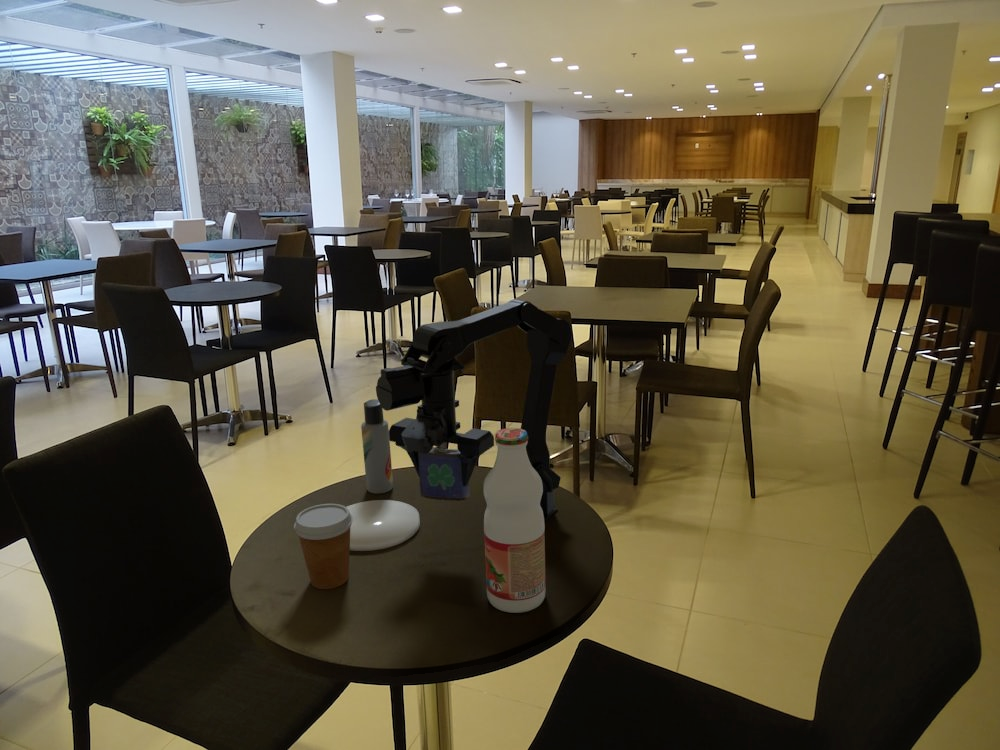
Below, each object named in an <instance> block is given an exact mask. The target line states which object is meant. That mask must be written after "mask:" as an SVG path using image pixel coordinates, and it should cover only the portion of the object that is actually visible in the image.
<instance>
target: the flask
mask: <svg viewBox="0 0 1000 750" xmlns="http://www.w3.org/2000/svg"><path fill="white" fill-rule="evenodd" d="M446 444H447V442H443V443H442V444H441V445H440V446H439V447H438V446H433V447H432V450H431V451H430V452H428V453H426V454H422V453H420V452H418V460H419V475H420V477H419V491H420V497H421V498H423V499H429V500H435V501H436V500H437V501H438V500H439V501H442V500H443V501H454V502H455V501H457V502H458V501H460V502H461V501H467V500H469V498H470V496H471V494H470V493H471V492H470V482H469V483H468V485H467V486H465V487H464V486H463V484H462V473H461V460H460V459H459V458H458V457H457V455H458V454H460V451H459V450H458V448H455V449H454V448H453V449H452V448H449V449H448V448H446Z"/></svg>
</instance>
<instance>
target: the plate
mask: <svg viewBox="0 0 1000 750" xmlns="http://www.w3.org/2000/svg"><path fill="white" fill-rule="evenodd" d="M346 507H347V508H348V510H349V512H350V514H351V515H352V517H353V521H352V524H351V527H350V551H354V552H355V551H356V552H368V551H377V550H378V551H379V550H383V549H387V548H388V549H389V548H391V547H394V546H397V545H400V544H402V543H403V542H406V541H408V540H409V539H410V538H412V537H413V536H414V535H416V533H417V532H418V531H419V529H420V526H421V525H420V524H421V522H420V521H421V519H420V513H419V510H417V508H416V507H414V506H412V505H411V504H409V503H406V502H403V501H398V500H392V499H376V500H374V499H373V500H367V501H361V502H357V503H353V504H350V505H347V506H346Z"/></svg>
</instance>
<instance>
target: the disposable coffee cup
mask: <svg viewBox="0 0 1000 750" xmlns="http://www.w3.org/2000/svg"><path fill="white" fill-rule="evenodd" d="M352 521H353V517H352V515H351V514H350V512H349V510H348V508H347V506H346V505H342V504H338V503H323V504H317V505H312V506H310V507H307V508H305V509H303V510H302V511H300V512H299V513H298V514H297V515H296V517H295V522H294V524H293V529H294V531H295V532H296V534H297V536H298V538H299V542H300V546H301V550H302V554H303V558H304V561H305V565H306V568H307V573H308V576H309V580H310V584H311V585H312V587H313V588H316V589H320V590H331V589H332V590H333V589H335V588H338V587H340V586H342V585H344V584H345V583H346V582H347V581H348V580H349V577H350V574H349V573H350V572H349V571H350V554H351V553H350V551H351V550H350V527H351V524H352Z"/></svg>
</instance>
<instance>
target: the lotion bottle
mask: <svg viewBox="0 0 1000 750" xmlns="http://www.w3.org/2000/svg"><path fill="white" fill-rule="evenodd" d="M363 410H364V411H363V413H364V422H362V423H361V425H360V428H361V438H362V439H361V440H362V449H363V459H364V460H363V461H364V462H363V463H364V472H365V482H366V490H367V491H368V492H369V493H370V494H371V493H372V494H375V495H377V494H379V495H380V494H385V493H388V492H390V491H391V490H392V489H393V488H394V481H393V479H394V478H393V467H392V456H391V455H392V454H391V441H390V440H389V429H390V427H389V422H388V420H385V419H384V409H383V408H382V407H381V405H380V403H379V401H378V399H369V400H367V401H364V402H363Z"/></svg>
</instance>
